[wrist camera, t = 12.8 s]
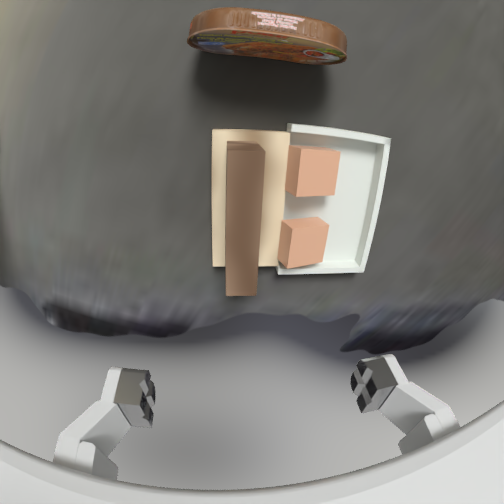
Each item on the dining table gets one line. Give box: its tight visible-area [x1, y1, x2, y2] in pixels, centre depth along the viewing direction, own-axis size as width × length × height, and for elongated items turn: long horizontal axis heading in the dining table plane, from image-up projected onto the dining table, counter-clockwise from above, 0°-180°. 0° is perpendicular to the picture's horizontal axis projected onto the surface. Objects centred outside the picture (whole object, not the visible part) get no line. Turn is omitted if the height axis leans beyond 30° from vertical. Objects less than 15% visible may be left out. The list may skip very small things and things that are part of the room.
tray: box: [276, 123, 391, 275], centre depth 32 cm, size 12×18×2 cm, turn 177°
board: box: [212, 129, 290, 266], centre depth 32 cm, size 8×16×2 cm, turn 177°
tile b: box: [277, 217, 329, 269], centre depth 33 cm, size 5×5×2 cm
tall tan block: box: [225, 141, 266, 296], centre depth 28 cm, size 3×14×7 cm, turn 177°
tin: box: [187, 7, 347, 65], centre depth 20 cm, size 15×3×8 cm, turn 84°
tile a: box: [285, 145, 341, 197], centre depth 29 cm, size 5×5×2 cm
